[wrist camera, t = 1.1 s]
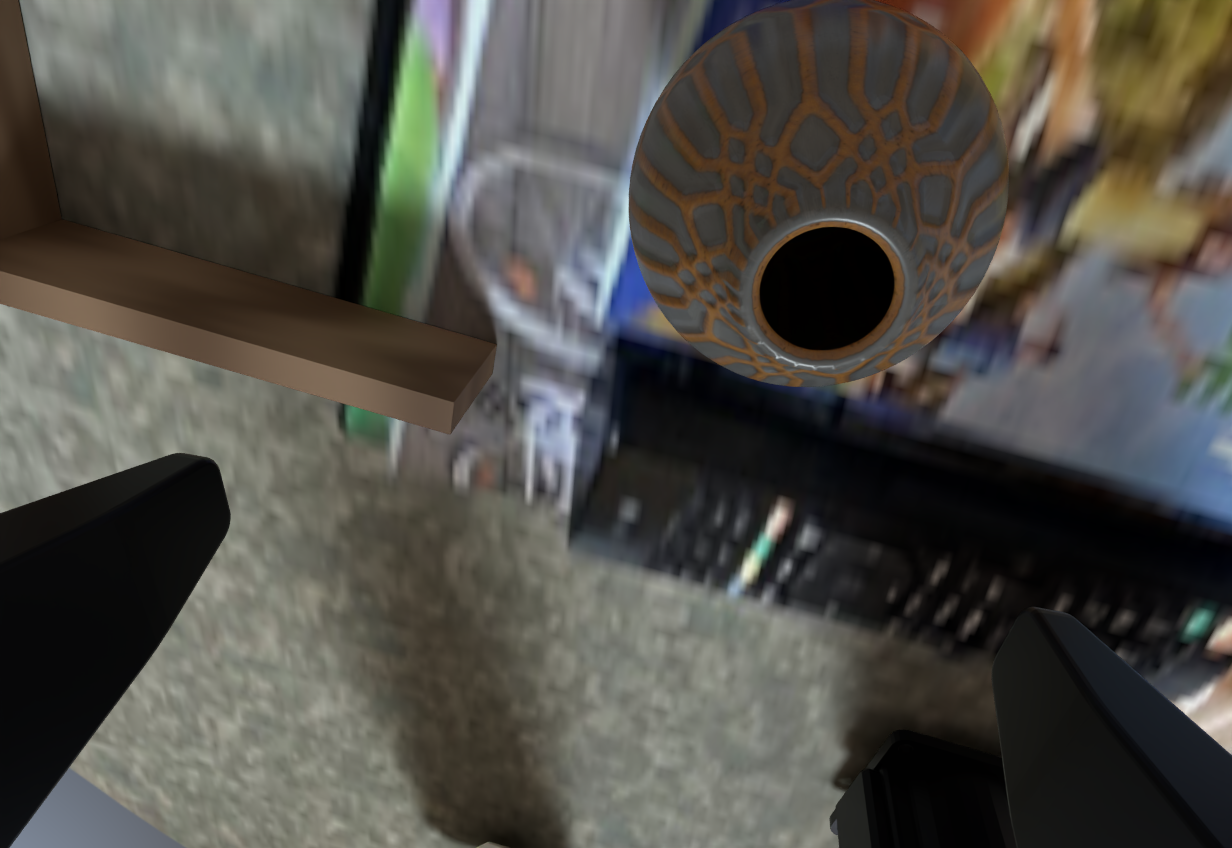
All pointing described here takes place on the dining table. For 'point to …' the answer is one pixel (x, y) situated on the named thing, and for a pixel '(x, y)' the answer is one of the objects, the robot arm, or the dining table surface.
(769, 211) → the vase
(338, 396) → the frame
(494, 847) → the crystal
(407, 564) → the dining table surface
